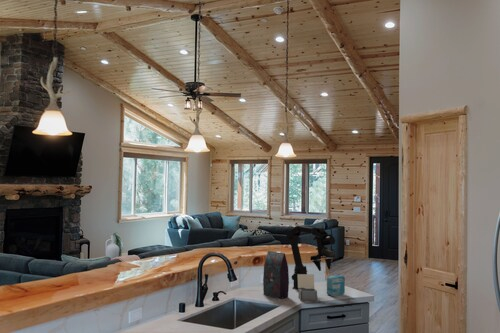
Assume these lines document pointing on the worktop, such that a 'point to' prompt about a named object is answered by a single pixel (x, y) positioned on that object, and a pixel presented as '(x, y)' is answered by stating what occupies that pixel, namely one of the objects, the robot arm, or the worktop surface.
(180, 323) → the worktop surface
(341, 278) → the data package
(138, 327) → the worktop surface
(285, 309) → the worktop surface
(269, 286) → the dark coffee bag
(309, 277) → the lid
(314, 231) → the robot arm
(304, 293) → the storage box
